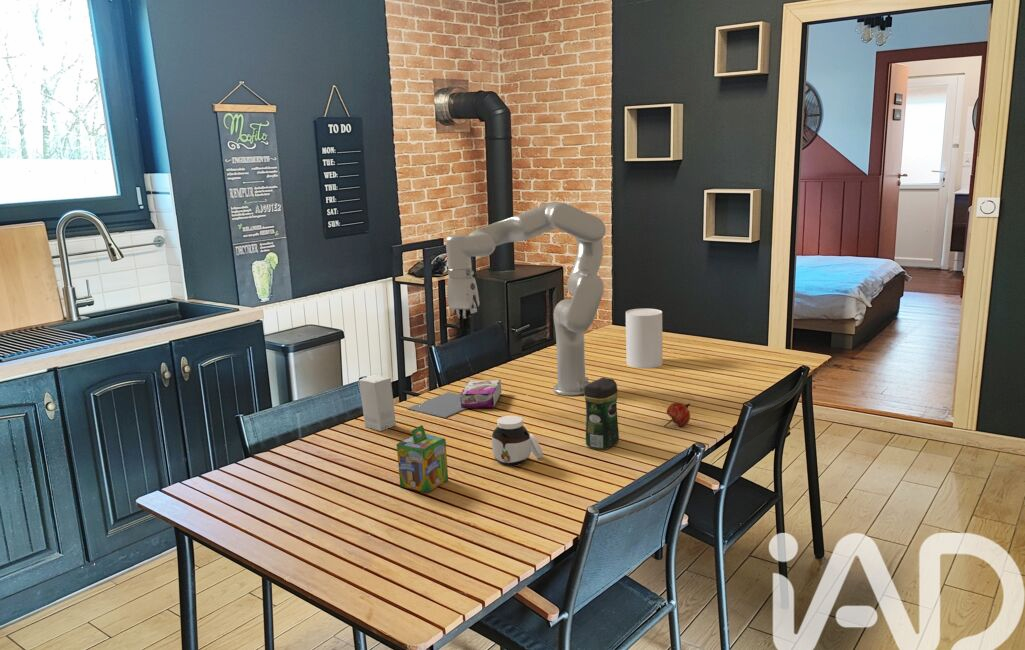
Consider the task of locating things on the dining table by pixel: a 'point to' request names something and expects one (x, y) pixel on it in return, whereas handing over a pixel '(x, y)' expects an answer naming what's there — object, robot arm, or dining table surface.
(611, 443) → the coffee jar
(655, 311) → the canister
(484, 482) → the dining table surface
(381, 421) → the skincare box
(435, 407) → the slate mat
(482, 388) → the candy bar box
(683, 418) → the pomegranate
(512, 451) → the spread jar
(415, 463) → the chalk box
